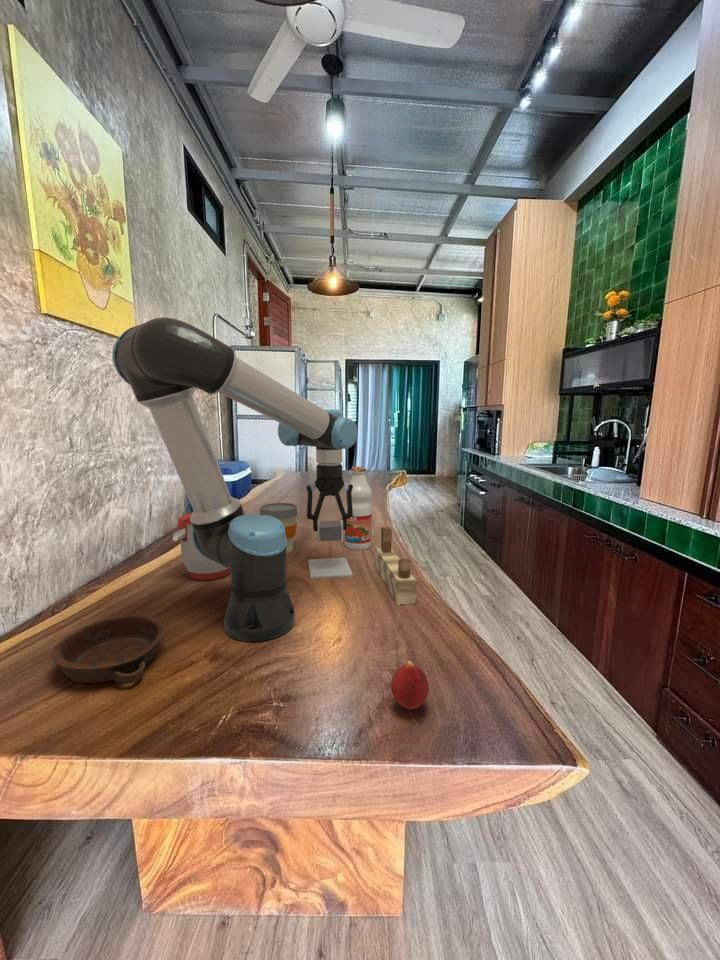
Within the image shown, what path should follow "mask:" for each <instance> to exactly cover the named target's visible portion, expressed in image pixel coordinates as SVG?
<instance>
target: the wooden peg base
mask: <svg viewBox="0 0 720 960" xmlns="http://www.w3.org/2000/svg"><path fill="white" fill-rule="evenodd" d="M380 530H381V532H380V535H381V536H380V546H375V554H374V555H375V561H374V562H375V564H374V565H375V569H376V570H377V571H378V572H377V573H379V575H380V577H381V578H382V580H383V582H384V584H385V586H386V585H387V586H386V588H387V589H388V591H389V593H390V592H391V593H390V594H391V596H392V598H393V600H394V601H395V603H396V604H397V606H401V605H400V604H405V605H415V603H417V600H416V599H417V583H418V582H417V581H418V580H417V579H416V578H415V576H414V575H413V574H412V573H411V560H410V559H407V558H400V557H399V556H398V555H397V553H396V552H395V551H394V549H393V548H392V541H393V540H392V537H393V535H392V534H393V533H392V531H393V529H392V528H391V527H390V526H382V527H381V528H380Z"/></svg>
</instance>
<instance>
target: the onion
mask: <svg viewBox="0 0 720 960" xmlns="http://www.w3.org/2000/svg"><path fill="white" fill-rule="evenodd" d="M390 688H391V694H392V696H393V698H394V699H395V701H396V702H397V703H398V704H399V705H400V706H402V707H403V708H405V709H406V710H409V711H410V710H414V709H415V710H416V709H417V708H419V707H421V706H422V705H424V703H426V701H427V698H428V697H429V693H430V685H429V681H428V678H427V676H426V674H425V673H424V671H423V670H422V669H421V668H419V667H418V666H417V665H415V664H413V662H412V661H411V660H406V661H405V664H404V665H401V666H400V667H399V668H398V669H397V670H396V671H395V672H394V674H393V677H392V678H391V682H390Z"/></svg>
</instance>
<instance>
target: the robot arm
mask: <svg viewBox="0 0 720 960" xmlns="http://www.w3.org/2000/svg"><path fill="white" fill-rule="evenodd" d="M111 355H112V359H111V360H112V364H113V367H114V369H115V371H116V372H117V374H118V376H120V377H121V379H122V380H123V381H125V382H126V383H127V384H129V385H130V387H131V389H132V392H133V394H134V397H135V399H136V401H137V403H138V404H140V405H142V406H144V407H146V408H147V409H149V410H150V413H151V415H152V417H153V420H154V422H155V424H156V427H157V429H158V431H159V433H160V436H161V438H162V441H163V443H164V445H165V448H166V449H167V451H168V454H169V456H170V459H171V462H172V463H173V466H174V468H175V471H176V473H177V475H178V477H179V480H180V482H181V484H182V487H183V489H184V492H185V494H186V496H187V498H188V501H189V503H190V505H191V507H192V508H191V509H192V510H193V511H192V512H193V513H192V512H191V513H192V515H191V517H190V522H191V524H192V526H193V529H192V540H193V543H194V545H195V547H196V548H197V550H198V551H199V552H200V553H201V554H202V555H203V556H205V557H206V558H208V559H210V560H213V561H215V562H217V563H219V564H221V565H223V566H225V567H227V568H228V569H230V570H231V572H230V584H231V592H230V593H231V594H230V597H229V601H228V603H227V608H226V612H225V615H224V619H223V620H224V621H223V623H224V627H223V628H224V632H225V633H226V634H227V636H229V637H230V638H232V639H235V640H237V641H240V642H250V643H252V642H254V643H255V642H264V641H269V640H273V639H277V638H278V637H281V636H283V635H285V634H286V633H288V632H290V630H291V629H292V628H293V627H294V626H295V624H296V609H295V607H294V603H293V600H292V598H291V596H290V593H289V591H288V585H287V583H288V581H287V580H288V579H287V553H286V543H287V539H286V532H285V527H284V525H283V523H282V522H281V521H280V520H278V519H277V518H274V517H272V516H268V515H261V514H260V513H259V514H258V513H251V514H250V513H249V514H245V511H244V509H243V506H242V503H241V501H240V499H238V498H235V497H233V496H231V494H230V491H229V487H228V486H227V483H226V480H225V478H224V475H223V471H222V470H221V467H220V464H219V462H218V460H217V457H216V455H215V452H214V449H213V446H212V443H211V441H210V439H209V436H208V433H207V431H206V428H205V426H204V423H203V420H202V418H201V415H200V413H199V410H198V407H197V404H196V402H195V399H194V394H195V392H196V389H198V390H201V391H203V392H204V393H207V394H209V395H216V394H218V393H219V394H220V395H222V396H224V397H227V398H229V399H231V400H233V401H235V402H237V403H238V404H240V405H243V406H244V407H247V408H249V409H251V410H253V411H255V412H257V413H258V414H261V415H263V416H265V417H267V418H269V419H271V420H272V421H275V422H277V423H278V426H277V436H278V438H279V441H280V442H281V444H283V446H287V447H288V446H289V447H290V446H291V447H292V446H293V447H297V446H306V447H315V462H316V463H317V465H316V479H315V481H314V482H313V483H312V484H309V483H307V484H306V488H305V489H306V490H307V491H306V492H307V502H306V503H307V505H306V517H307V520H312V526H313V527H312V529H313V531H314V532H316V541H317V544H320V543H321V540H320V521H321V519H320V517H319V516H320V513H321V510H322V506H323V503H324V500H325V497H329V496H332V497H335V499H336V503H337V506H338V509H339V512H340V515H341V517H340V518H338V520H339V523H340V525H341V527H342V540H339V541H340V542H341V543H342V542H344V531H345V530H346V529H347V519H348V518H350V517H353V510H352V495H351V492H352V489H353V485H352V484H351V483H350V482H349V483H348V482H345V481H344V479H343V465H342V463H343V449H344V450H346V449H350V448H352V446H354V444H355V443H356V441H357V437H358V427H357V424H356V422H355V421H354V420H353V419H351V418H349V417H344V416H342V414H343V413H342V412H341V410H339V409H323V408H322V407H321V406H319V405H317V404H316V403H313V402H312V401H310V400H308V399H307V398H305V397H304V396H301V395H300V394H298V393H297V392H295V391H294V390H291V389H290V388H288V387H287V386H285V385H283V384H281V383H280V382H278V381H277V380H275V379H273V378H272V377H270V376H269V375H267V374H265V373H264V372H262V371H260V370H258V369H257V368H255V367H253V365H250V364H248V363H247V362H245V361H244V360H242V359H240V358H238V357H237V354H236V352H235V349H233V348H232V347H231V346H229V345H228V344H226V343H225V342H223V341H221V340H219V339H217V338H216V337H214V336H213V335H210V334H209V333H208V332H206V331H204V330H202V329H201V328H198V327H197V326H194V325H192V324H190V323H188V322H186V321H184V320H179V319H177V318H172V317H155V318H152V319H149V320H148V321H145V322H143V323H141V324H138V325H135V326H131V327H129V328H128V329H127V330H125V331H124V332H122V333H121V334H120V336H119V337H118V338H116V340H115V343H114V345H113V348H112V353H111ZM343 487H344V490H345V493H346V495H345V498H346V497H347V499H346V503H347V511H348V513H345V507H344V505H343V501H342V499H341V498H342V497H341V495H340V491H342V489H343ZM315 488H316V489H317V490H318V492H319V495H318V500H317V502H316V506H315V509H314V513H313V514H312V511H313V492H315Z"/></svg>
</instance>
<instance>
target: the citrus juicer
mask: <svg viewBox="0 0 720 960" xmlns="http://www.w3.org/2000/svg"><path fill="white" fill-rule="evenodd" d="M192 513H193V511H191V512H188V513H185V514H183V515H181V516H179V517H178V518H177V523H178V524H177V525H178V531H176V532H174V533H173V536H172V541H174V542H178V541H180V550H181V558H182V560H183V565H184V567H185V570H186V572H187V574H188V575H189V577H190V578H192V579H195V580H200V581H202V580H204V581H208V580H216V579H219V578H220V579H221V578H223V577H226V576H227V575H230V574H231V570H230V569H228V568H227V567H225V566H223V565H221V564H219V563H217V562H215V561H213V560H210V559H208V558H206V557H205V556H203V555H202V554H201V553H200V552H199V551H198V550H197V548H196V547H195V545H194V543H193V540H192V529H193V526H192V524H191V522H190V517H191V515H192Z"/></svg>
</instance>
